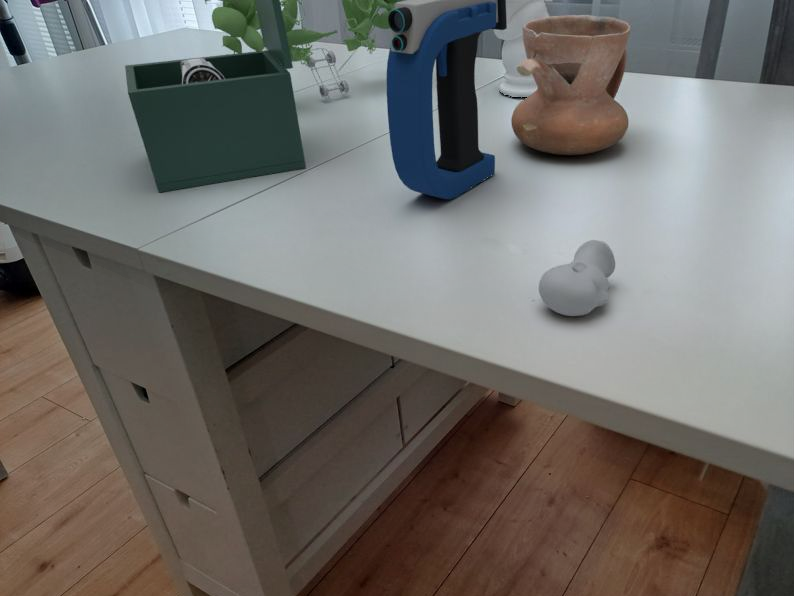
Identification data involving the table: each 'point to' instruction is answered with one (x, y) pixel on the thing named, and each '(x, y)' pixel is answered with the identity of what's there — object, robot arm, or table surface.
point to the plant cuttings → (301, 30)
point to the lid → (274, 30)
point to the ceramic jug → (573, 84)
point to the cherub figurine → (518, 45)
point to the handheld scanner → (438, 92)
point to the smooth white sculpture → (579, 280)
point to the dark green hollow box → (216, 120)
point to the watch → (199, 71)
